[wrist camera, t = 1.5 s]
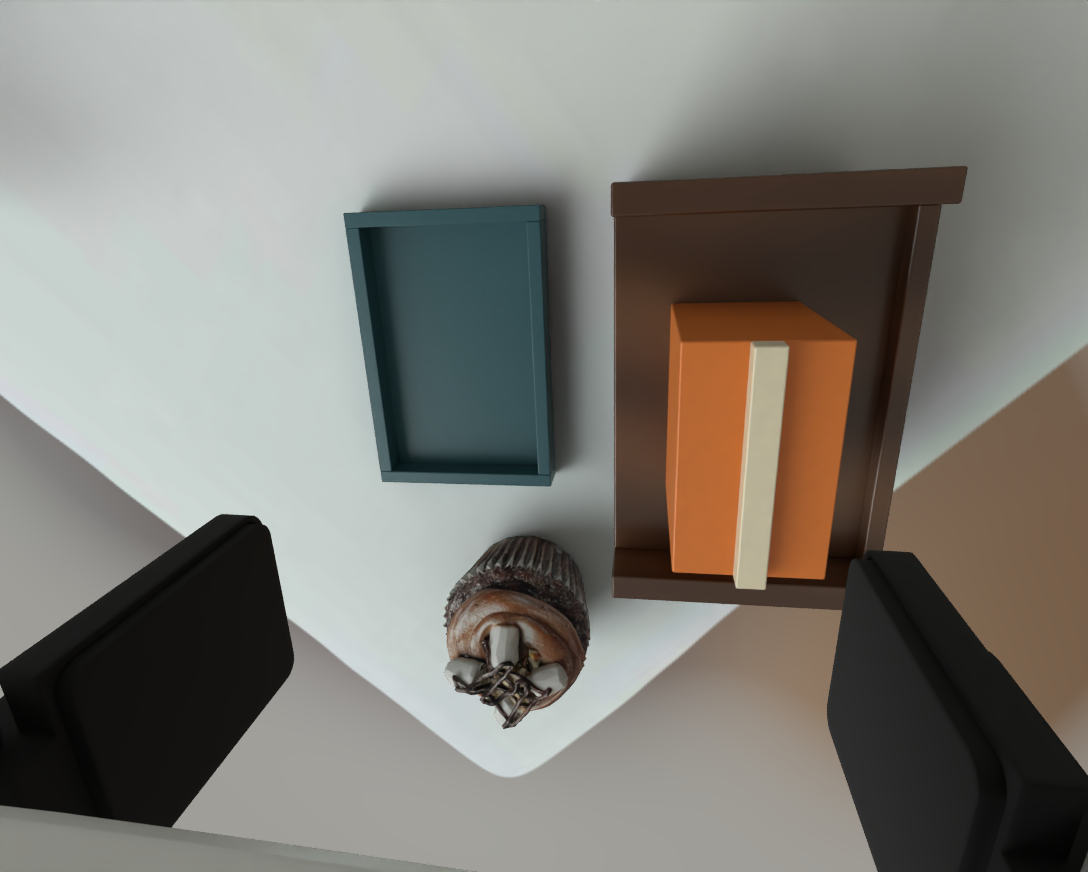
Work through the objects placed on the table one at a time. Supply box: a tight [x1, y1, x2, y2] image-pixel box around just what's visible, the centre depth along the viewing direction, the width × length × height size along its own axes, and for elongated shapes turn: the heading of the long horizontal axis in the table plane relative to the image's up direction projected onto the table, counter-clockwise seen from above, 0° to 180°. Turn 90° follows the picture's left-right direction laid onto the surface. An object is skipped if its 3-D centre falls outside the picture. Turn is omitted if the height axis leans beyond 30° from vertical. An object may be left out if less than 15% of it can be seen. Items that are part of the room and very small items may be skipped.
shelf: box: [611, 166, 968, 610], centre depth 31 cm, size 18×12×12 cm, turn 3°
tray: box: [344, 205, 555, 486], centre depth 38 cm, size 17×11×2 cm
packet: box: [666, 301, 857, 590], centre depth 24 cm, size 8×5×8 cm, turn 3°
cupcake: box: [443, 536, 590, 729], centre depth 40 cm, size 10×10×10 cm
